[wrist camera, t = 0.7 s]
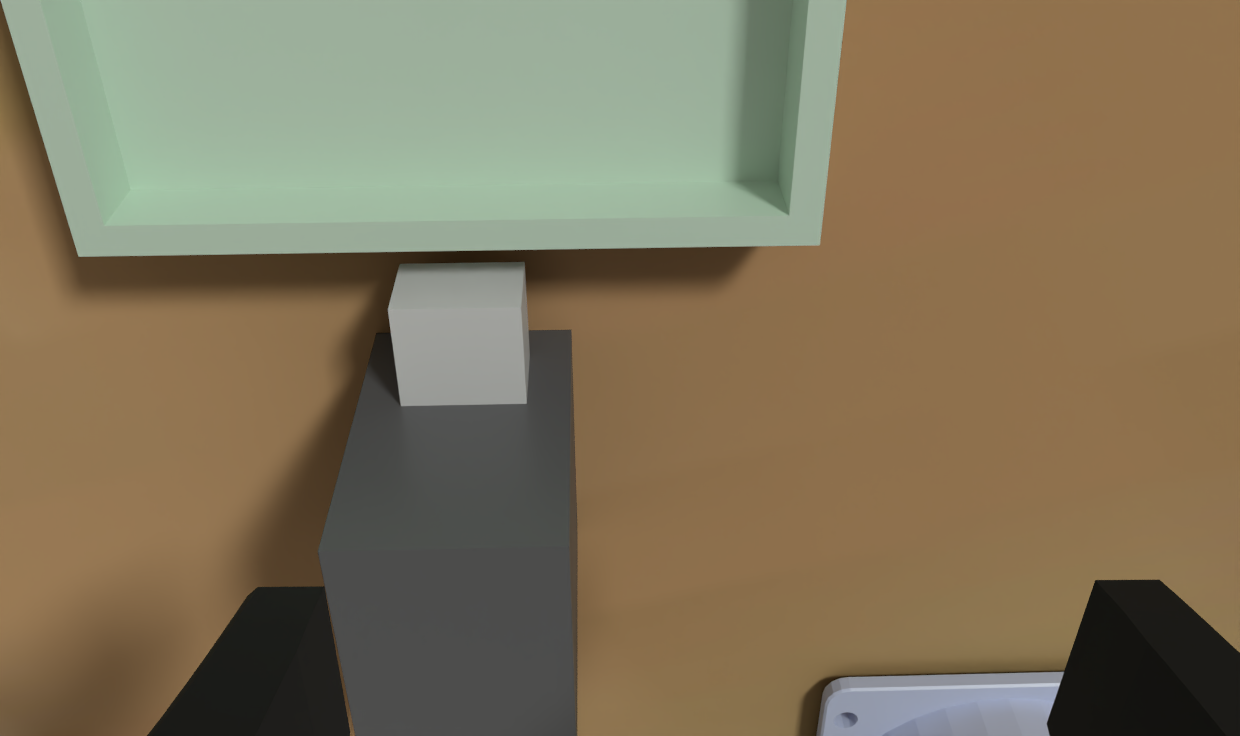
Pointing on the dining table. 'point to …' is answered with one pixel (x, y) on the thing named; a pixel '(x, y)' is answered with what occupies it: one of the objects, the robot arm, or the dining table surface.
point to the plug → (458, 516)
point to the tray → (432, 122)
